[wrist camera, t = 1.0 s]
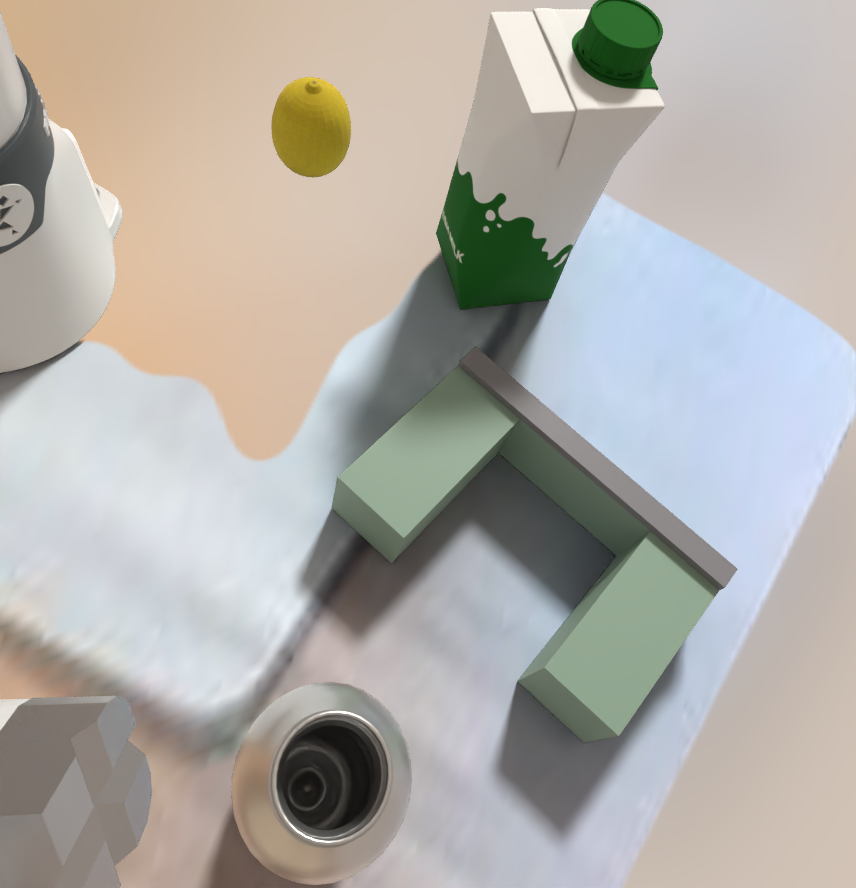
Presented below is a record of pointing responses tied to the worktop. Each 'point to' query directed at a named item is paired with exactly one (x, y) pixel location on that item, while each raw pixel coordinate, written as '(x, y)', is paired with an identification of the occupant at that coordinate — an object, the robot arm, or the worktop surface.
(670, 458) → the worktop surface
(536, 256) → the milk carton
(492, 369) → the green u-shaped bracket
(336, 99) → the lemon
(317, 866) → the plastic bottle
